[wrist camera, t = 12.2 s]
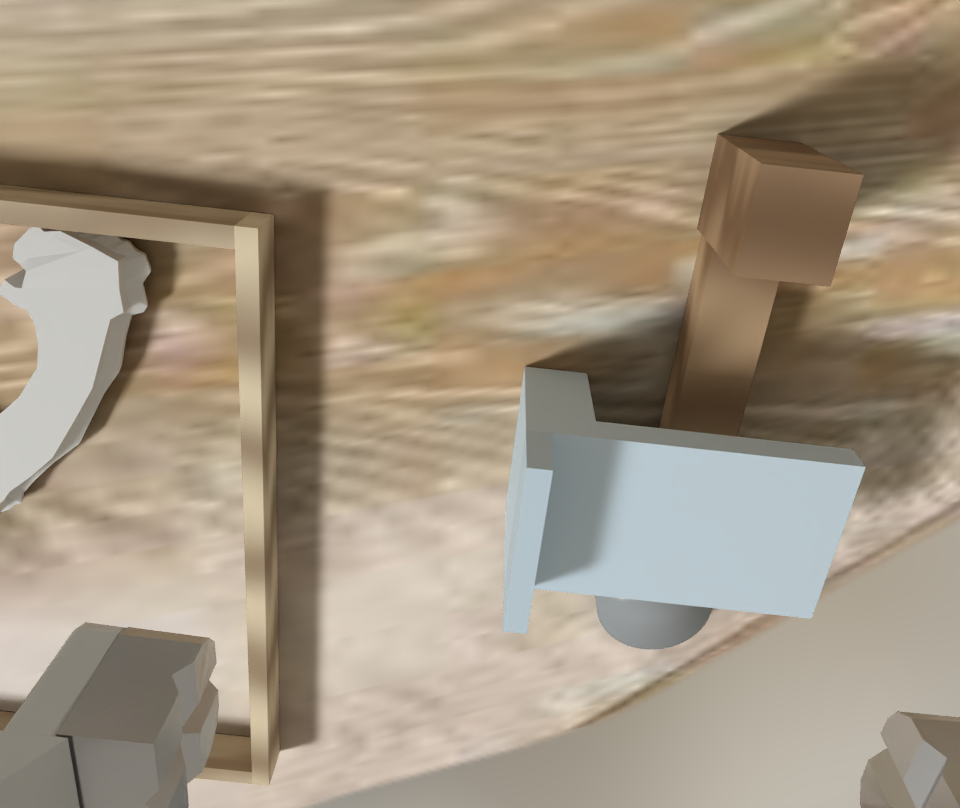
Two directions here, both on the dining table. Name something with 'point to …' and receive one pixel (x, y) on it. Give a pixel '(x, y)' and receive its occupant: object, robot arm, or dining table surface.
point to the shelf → (665, 510)
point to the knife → (66, 343)
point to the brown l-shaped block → (751, 268)
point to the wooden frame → (257, 417)
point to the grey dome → (650, 621)
